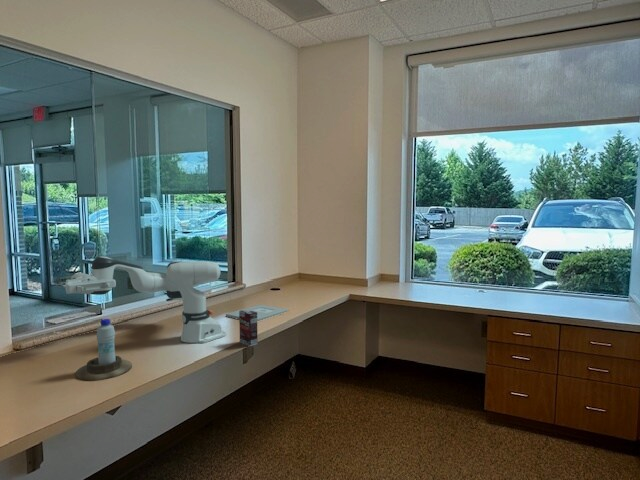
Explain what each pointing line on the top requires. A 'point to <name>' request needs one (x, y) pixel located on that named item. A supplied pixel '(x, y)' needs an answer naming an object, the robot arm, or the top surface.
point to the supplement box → (248, 327)
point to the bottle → (106, 343)
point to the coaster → (103, 376)
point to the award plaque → (260, 312)
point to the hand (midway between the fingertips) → (95, 287)
